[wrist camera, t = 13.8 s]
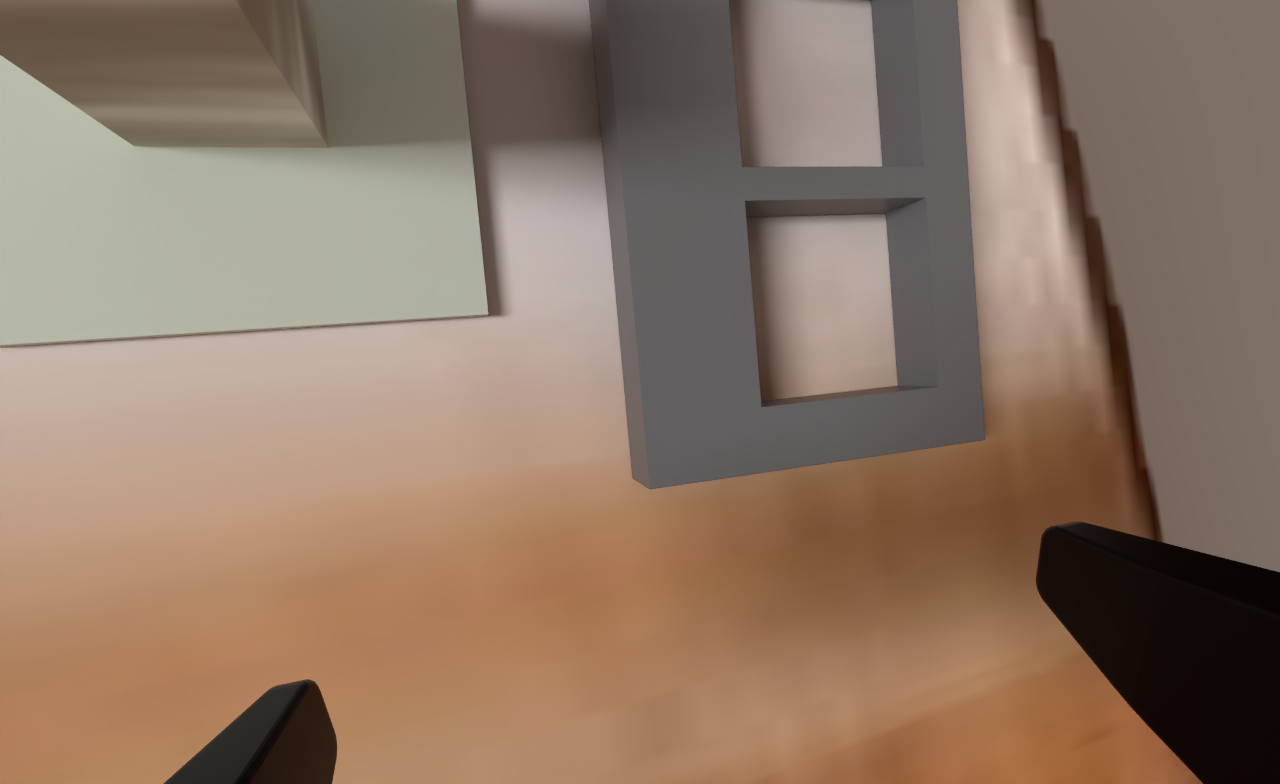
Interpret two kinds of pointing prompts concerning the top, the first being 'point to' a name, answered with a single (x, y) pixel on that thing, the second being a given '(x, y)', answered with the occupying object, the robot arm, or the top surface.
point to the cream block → (177, 67)
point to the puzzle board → (719, 253)
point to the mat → (252, 203)
